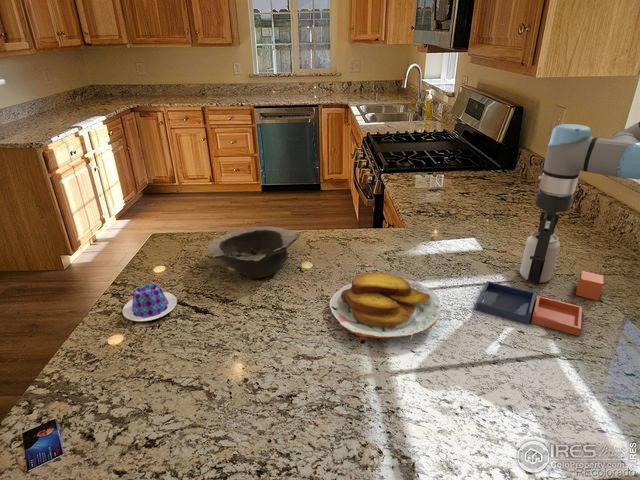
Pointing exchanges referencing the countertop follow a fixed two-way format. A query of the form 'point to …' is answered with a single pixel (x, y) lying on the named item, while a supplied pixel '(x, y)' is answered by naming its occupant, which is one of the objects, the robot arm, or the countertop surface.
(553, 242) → the can
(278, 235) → the stone bowl
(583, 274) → the block
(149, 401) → the countertop surface
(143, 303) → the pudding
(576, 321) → the terracotta tray
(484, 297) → the navy tray
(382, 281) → the food on plate
